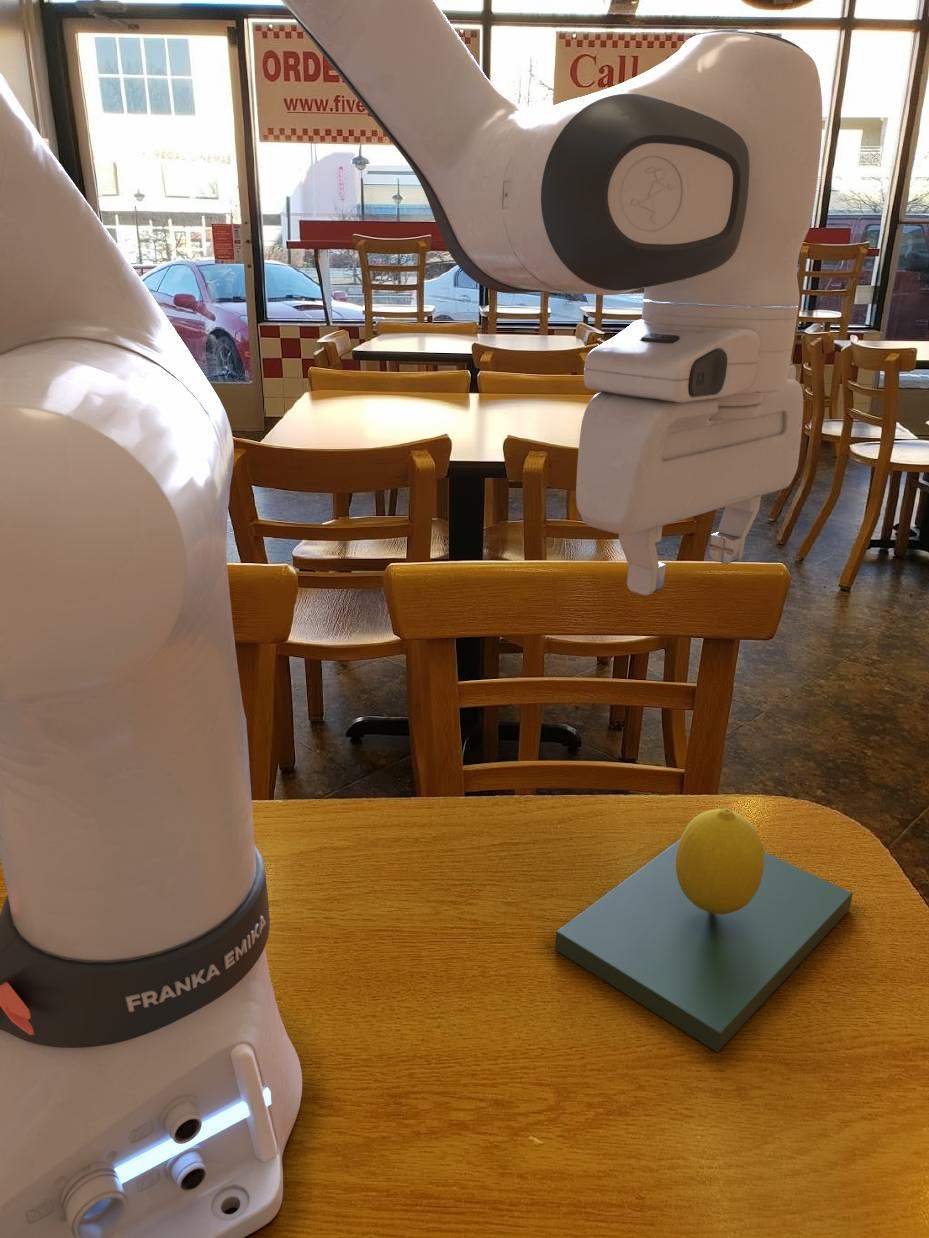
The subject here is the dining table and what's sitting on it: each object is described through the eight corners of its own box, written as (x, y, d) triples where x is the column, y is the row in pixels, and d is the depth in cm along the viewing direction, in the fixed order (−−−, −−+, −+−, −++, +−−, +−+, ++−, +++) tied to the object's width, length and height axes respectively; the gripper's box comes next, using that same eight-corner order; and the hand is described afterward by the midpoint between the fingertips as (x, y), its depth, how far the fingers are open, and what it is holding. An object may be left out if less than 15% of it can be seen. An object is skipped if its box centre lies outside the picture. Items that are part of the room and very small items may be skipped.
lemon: (752, 948, 60) (770, 842, 57) (664, 928, 61) (677, 824, 59) (756, 896, 65) (773, 796, 62) (675, 879, 66) (687, 780, 63)
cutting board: (717, 1053, 54) (720, 1033, 53) (554, 949, 61) (555, 931, 61) (849, 910, 66) (853, 892, 65) (699, 838, 74) (701, 822, 73)
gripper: (753, 342, 65) (727, 535, 70) (564, 358, 51) (549, 597, 56) (841, 350, 61) (807, 555, 66) (662, 370, 47) (636, 626, 52)
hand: (686, 575), depth 61 cm, fingers open, 8 cm apart
